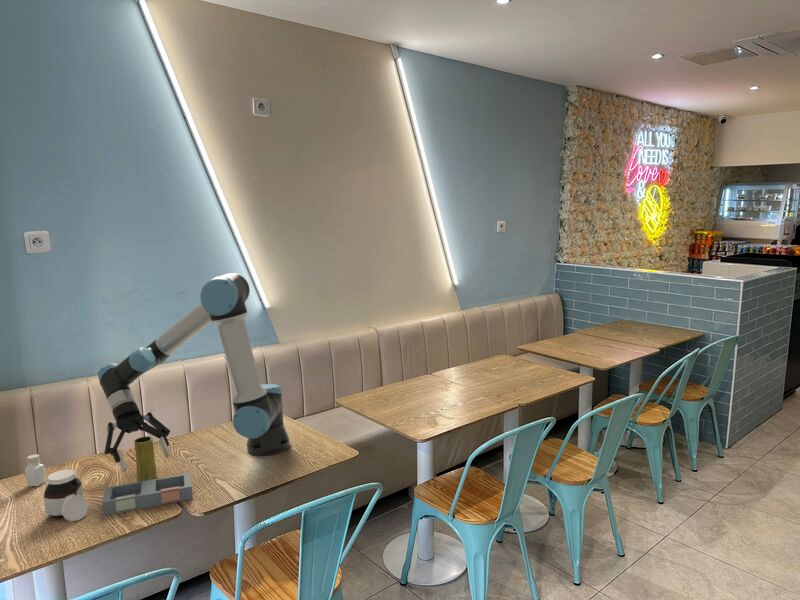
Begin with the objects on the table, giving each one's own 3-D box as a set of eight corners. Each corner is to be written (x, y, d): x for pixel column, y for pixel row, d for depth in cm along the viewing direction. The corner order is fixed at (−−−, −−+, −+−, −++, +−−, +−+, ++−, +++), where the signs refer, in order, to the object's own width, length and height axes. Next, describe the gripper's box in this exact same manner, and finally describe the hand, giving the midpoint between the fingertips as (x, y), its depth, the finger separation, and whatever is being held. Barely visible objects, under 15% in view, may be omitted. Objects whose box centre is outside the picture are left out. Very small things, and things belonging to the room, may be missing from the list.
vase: (133, 482, 186) (129, 439, 184) (152, 475, 190) (148, 434, 188) (142, 488, 182) (137, 444, 180) (161, 481, 186) (157, 438, 184)
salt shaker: (37, 487, 184) (33, 459, 183) (26, 487, 185) (22, 458, 183) (47, 482, 188) (43, 454, 186) (36, 481, 189) (32, 453, 187)
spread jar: (63, 504, 173) (58, 467, 171) (100, 503, 173) (96, 466, 171) (37, 525, 161) (32, 486, 160) (77, 525, 161) (72, 485, 159)
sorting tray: (191, 484, 183) (190, 471, 183) (192, 499, 174) (191, 486, 173) (106, 500, 175) (105, 486, 174) (103, 516, 165) (101, 502, 164)
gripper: (158, 403, 203) (181, 455, 195) (80, 423, 185) (103, 481, 177) (163, 391, 198) (188, 444, 190) (84, 410, 181) (108, 470, 173)
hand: (147, 462), depth 184 cm, fingers open, 13 cm apart
